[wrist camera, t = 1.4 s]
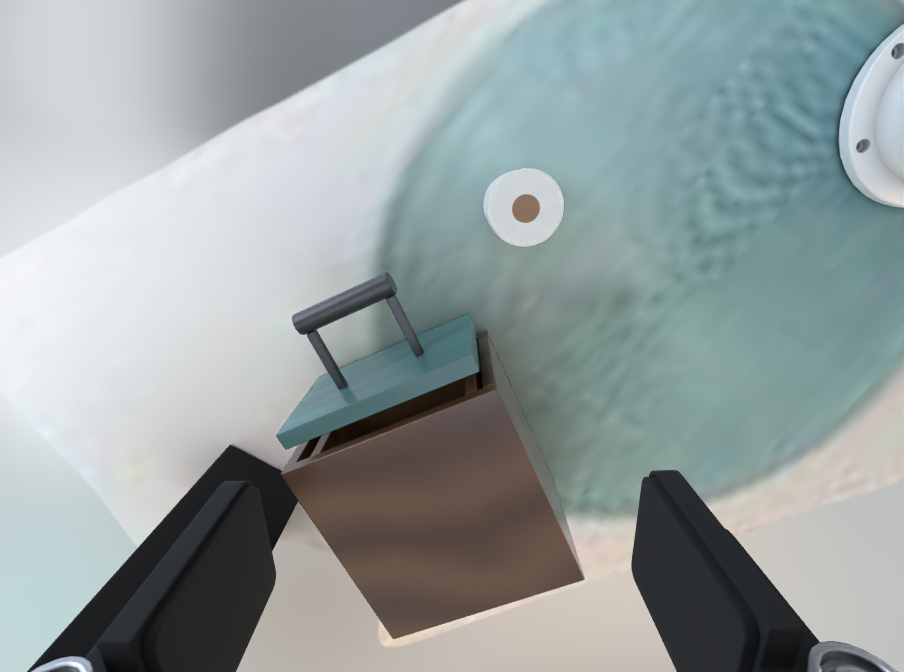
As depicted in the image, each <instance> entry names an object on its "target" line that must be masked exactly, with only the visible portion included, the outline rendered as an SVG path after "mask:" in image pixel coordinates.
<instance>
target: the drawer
mask: <svg viewBox="0 0 904 672" xmlns="http://www.w3.org/2000/svg"><path fill="white" fill-rule="evenodd" d="M396 293H397V288H396V285H395V283H394V280H393V279H392V277H391V275H390V274H389V273H388V272H386V273H384V274H381V275H379V276H377V277H375V278H373V279H371V280H368V281H366V282H364V283H362V284H360V285H357V286H355V287H353V288H351V289H349V290H347V291H344V292H342V293H340V294H338V295H336V296H333V297H331V298H329V299H327V300H325V301H323V302H320V303H318V304H316V305H314V306H312V307H309V308H307V309H305V310H303V311H301V312H299V313H296V314H294V315H293V317H292V321H293V325H294V327H295V329H296V330H297V331H298V332H299V333H300V334H302V335H305V334H307V333H308V334H307V337H308V339H309V340H310V342H311V344H312V345H313V347H314V349H315V351H316V352H317V354H318V356H319V357H320V359H321V361H322V362H323V364H324V366H325V367H326V369H327V371H328V373H327V374H325V375H323V376H320V377H319V378H318V379H317V381H316V382H315V383H314V385H313V386H312V387H311V389H310V390H309V391H308V393H307V394H306V395H305V397H304V398H303V399H302V401H301V402H300V403H299V405H298V406H297V408H296V409H295V410H294V412H293V413H292V414H291V416H290V417H289V418H288V420H287V421H286V422H285V424H284V425H283V426H282V428H281V429H280V430H279V432H278V433H277V434H276V436H277V438H278V439H279V441H280V442H281V444H282V445H283V447H284V448H285V450H286V449H289V448H291V447H294V446H296V445H299V444H301V443H304V442H306V441H309V440H311V439H314V438H316V437H319V436H321V435H322V436H321V438H320V440H319V442H318V443H317V445H316V447H315V449H314V451H313V452H312V454H311V456H314V455H316V454H319V453H321V452H324V451H326V450H329V449H331V448H334V447H336V446H339V445H341V444H344V443H346V442H349V441H351V440H354V439H356V438H359V437H361V436H364V435H367V434H369V433H372V432H374V431H377V430H379V429H382V428H384V427H387V426H389V425H392V424H394V423H397V422H399V421H402V420H404V419H407V418H409V417H412V416H414V415H417V414H419V413H422V412H424V411H427V410H429V409H432V408H434V407H437V406H440V405H442V404H445V403H447V402H450V401H452V400H455V399H457V398H460V397H462V396H465V395H467V394H470V393H472V392H475V391H477V390H480V389H482V388H483V382H482V373H481V363H480V359H479V357H478V350H477V340H476V330H475V324H474V322H473V320H472V318H471V316H470V313H468V314H465V315H463V316H461V317H458V318H456V319H454V320H451V321H449V322H447V323H444V324H442V325H440V326H437V327H435V328H433V329H430V330H428V331H426V332H423V333H421V334H419V335H416V334H415V332H414V330H413V328H412V326H411V324H410V322H409V320H408V318H407V316H406V314H405V312H404V310H403V308H402V306H401V305H400V303H399V301H398V299H397V297H396V295H395V294H396ZM385 298H386V300H387V302H388V304H389V306H390V308H391V310H392V312H393V314H394V316H395V318H396V320H397V322H398V324H399V326H400V328H401V330H402V332H403V333H404V335H405V337H406V339H407V340H405V341H402V342H400V343H398V344H395V345H393V346H391V347H388V348H386V349H383V350H381V351H379V352H376V353H374V354H372V355H369V356H367V357H365V358H362V359H360V360H358V361H355V362H353V363H351V364H348V365H346V366H344V367H341V368H338V366H337V364H336V363H335V361H334V359H333V357H332V356H331V354H330V352H329V350H328V349H327V347H326V345H325V344H324V342H323V340H322V338H321V337H320V335H319V333H318V332H317V330H316V329H318V328H321V327H323V326H325V325H327V324H330V323H332V322H334V321H336V320H339V319H341V318H343V317H345V316H348V315H350V314H352V313H354V312H356V311H359V310H361V309H363V308H365V307H368V306H370V305H372V304H374V303H377V302H379V301H381V300H383V299H385ZM311 456H310V457H311Z"/></svg>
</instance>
